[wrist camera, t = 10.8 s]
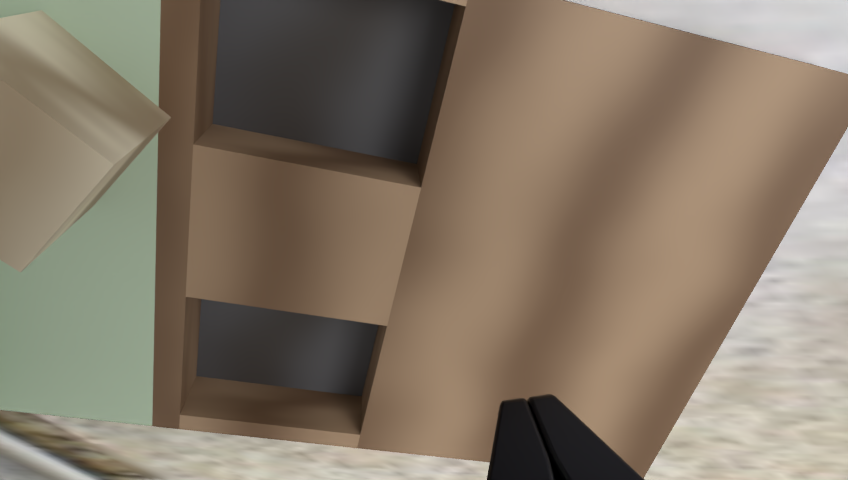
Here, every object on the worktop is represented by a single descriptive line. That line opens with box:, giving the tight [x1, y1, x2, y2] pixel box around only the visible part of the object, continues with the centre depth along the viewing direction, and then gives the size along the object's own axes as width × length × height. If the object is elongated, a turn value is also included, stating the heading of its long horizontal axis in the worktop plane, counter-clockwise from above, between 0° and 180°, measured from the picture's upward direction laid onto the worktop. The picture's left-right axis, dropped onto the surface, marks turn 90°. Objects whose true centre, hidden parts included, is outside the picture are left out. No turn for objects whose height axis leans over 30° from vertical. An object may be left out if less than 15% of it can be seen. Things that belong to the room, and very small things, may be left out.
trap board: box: [152, 0, 848, 478], centre depth 21 cm, size 21×18×2 cm
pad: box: [0, 0, 161, 426], centre depth 17 cm, size 7×18×4 cm, turn 167°
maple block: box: [0, 10, 171, 272], centre depth 14 cm, size 4×4×4 cm
